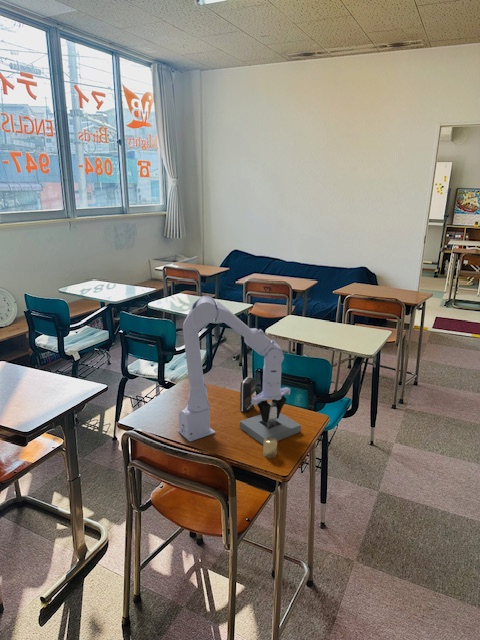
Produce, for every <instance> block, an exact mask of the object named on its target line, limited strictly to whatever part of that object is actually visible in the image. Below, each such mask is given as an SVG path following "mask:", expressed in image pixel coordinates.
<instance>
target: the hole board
mask: <svg viewBox="0 0 480 640" xmlns="http://www.w3.org/2000/svg"><path fill="white" fill-rule="evenodd" d="M301 427H302V425H301V424H300V423H298V421H297V422H296V421H295V420H294V419H292V418H290V417H289V416H287V415H285V414H283V413H282V412H280V415H279V418H278V419H277V423H276V427H273V428H270V429H268V428H267V427H265V426H264V421H263V420H262V417H261V413H260V414H258V415H257V414H256V415H255V416H252V417H249V418H246V419H242V420H239V429H240V430H242V431H243V432H244V433H246V434H247V435H248V436H250V437H251V438H253V439H254V440H256V441H257V442H258V443H259V444H261V445H263V444H264V439H265V438H268V437H271V438H275V439H276V440H277V442H279V441H280V440H284V439H286V438H288V437H291V436H294V435H296V434H298V433H301V430H302V428H301Z"/></svg>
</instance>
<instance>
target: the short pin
mask: <svg viewBox="0 0 480 640" xmlns="http://www.w3.org/2000/svg"><path fill="white" fill-rule="evenodd" d="M262 446H263V447H262V449H263V450H262V455H263V457H264V458H266V457H267V458H266V459H274V458H276V457H277V456H278V455H277V454H278V452H277V451H278V441H277V440H276V439H275V438H271V437H268V438H265V439H264V444H262ZM276 455H277V456H276ZM273 457H274V458H273Z"/></svg>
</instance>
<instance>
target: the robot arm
mask: <svg viewBox="0 0 480 640" xmlns="http://www.w3.org/2000/svg"><path fill="white" fill-rule="evenodd" d="M213 322H214V324H215V323H216V324H222V323H224V324H225V325H227V326H228V327H230V328H231V329H232V330H233V331H235V332H236V333H238V334H240V335H241V336H242V337H243V340H244V343H245V345H246V346H248V347H249V348H251V349H252V350H253V351H255V353H257V354H258V355H259V356H263V357H264V358H263V368H262V372H263V373H262V391H261V392H260V393H258V394H256V395H255V396H253V397H252V396H251V403H252V404H253V405H254V406H257V407H258V410H259V412H260V414H261V417H262V420H263V421H264V422H268V416H269V410H270V407H271V405H270V404H268V401H271V402H273V403H276V404H277V419H278V418H279V415H280V413H282V412H281V411H282V409H283V407H284V405H285V404H286V402H287V397H285V395H287V396H289V395H291V388H290V387H287V386H284V387H281V384H282V363H283V361H284V359H285V356H284V352H283V350H282V348H281V346H280V345H279V344H278V342H277V341H275V340H274V339H270V338H269V337H268V336H266V335H265V333H264V331H263V330H262V329H261V328H259V329H258V328H255V327H253V328H252V327H251V328H250V327H249V326H248V325H247V324H246V323H244V322H243V321H242V320H241V318H239V317H238V316H236V315H235V313H233V312H232V311H231V310H230V309H229V308H227V307H226V306H225V305H224V304H222V303H221V302H219V301H216V300H215V298H213V297H212V296H210V295H202V296H201V297H199V298H198V299H196V301H194V302H193V303H192V306H191V308H190V310H189V311H188V313H187V316H186V317H185V319H184V321H183V323H182V334H183V343H184V351H185V359H186V367H187V376H188V399H187V403H186V406H185V408H184V409H181V410H180V411H179V413H178V430H177V432H179V434H181V435H182V436H183V437H184V438H185V439H186V440H187V441H188V442H193V441H196V440H198V439H201V438H205V437H207V436H211V435H214V434H215V433H216V431H215V430H214V429H212V427H210V426H211V425H210V424H211V420H210V418H211V417H210V415H211V414H210V402H209V399H208V397H209V396H208V395H209V394H208V393H209V388H208V386H207V384H206V383H205V378H204V377H205V376H204V372H203V361H202V354H201V345H200V335H199V331H200V330H201V329H202V328H203V327H204V326H207V325H208V324H210V323H213Z"/></svg>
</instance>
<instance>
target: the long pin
mask: <svg viewBox="0 0 480 640" xmlns="http://www.w3.org/2000/svg"><path fill="white" fill-rule="evenodd" d="M267 402H268V401H267ZM268 404H270V405H271V407H270V410H269V416H268V422H264V426H265V427H267V428H268V429H270V428H273V427H276V423H277V404H276V403H273V402H272V401H269V402H268Z"/></svg>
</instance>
